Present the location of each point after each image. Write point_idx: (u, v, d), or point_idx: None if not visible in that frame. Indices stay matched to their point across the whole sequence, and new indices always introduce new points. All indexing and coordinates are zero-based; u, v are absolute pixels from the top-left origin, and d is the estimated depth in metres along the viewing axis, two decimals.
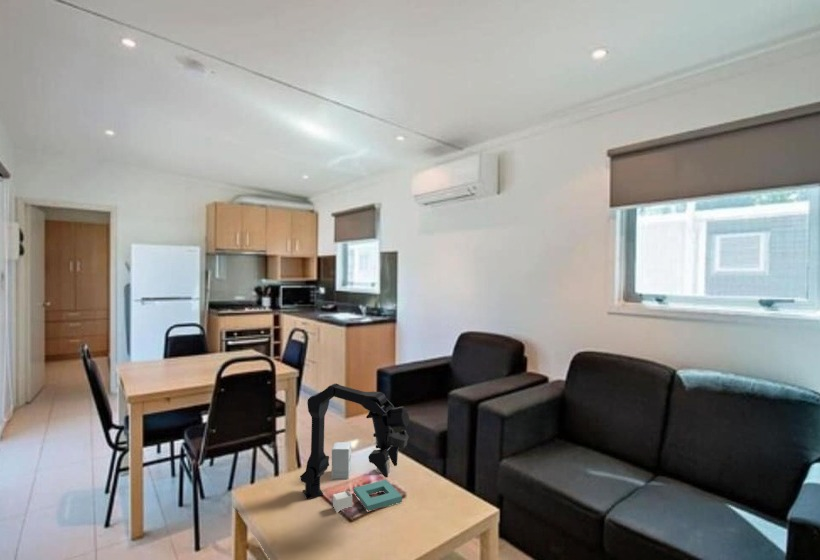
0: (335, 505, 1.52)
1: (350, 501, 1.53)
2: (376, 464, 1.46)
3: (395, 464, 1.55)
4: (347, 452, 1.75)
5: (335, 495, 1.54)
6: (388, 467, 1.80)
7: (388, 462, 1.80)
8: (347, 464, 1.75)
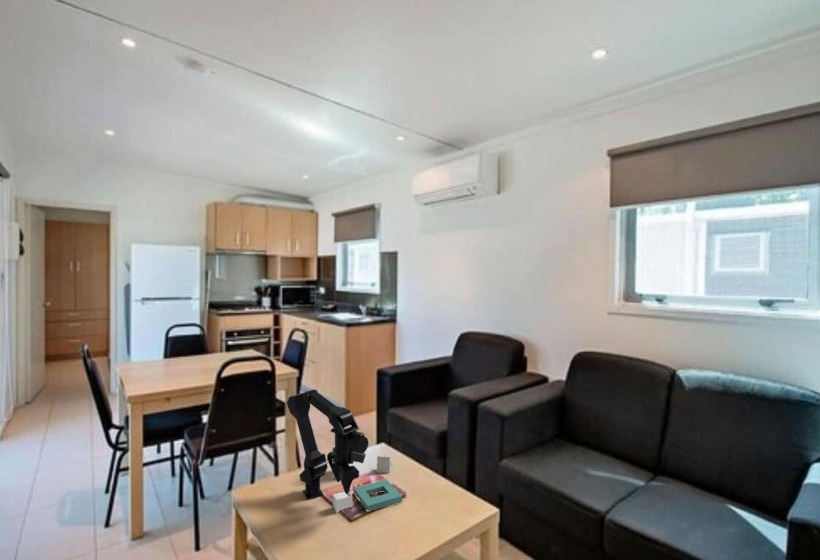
0: (335, 505, 1.52)
1: (350, 501, 1.53)
2: (343, 482, 1.47)
3: (338, 480, 1.58)
4: None
5: (335, 495, 1.54)
6: (388, 467, 1.80)
7: (388, 462, 1.80)
8: None
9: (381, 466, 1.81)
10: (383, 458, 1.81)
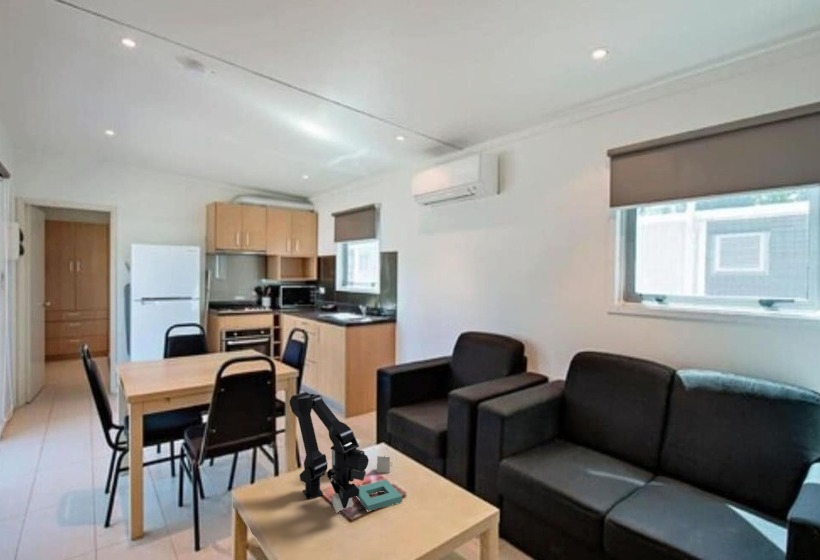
0: (335, 505, 1.52)
1: (350, 501, 1.53)
2: (341, 497, 1.49)
3: None
4: None
5: (335, 495, 1.54)
6: (388, 467, 1.80)
7: (388, 462, 1.80)
8: None
9: (381, 466, 1.81)
10: (383, 458, 1.81)
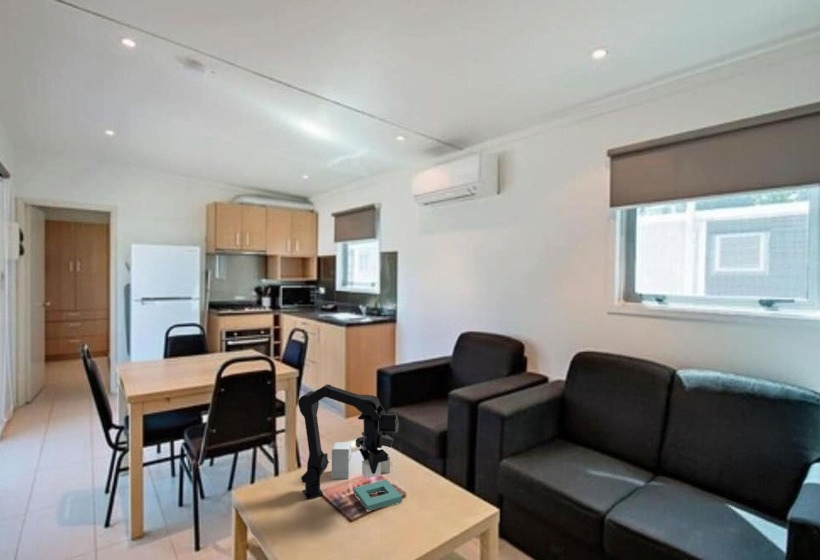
0: (364, 470, 1.57)
1: (379, 467, 1.58)
2: (370, 462, 1.54)
3: None
4: (347, 452, 1.75)
5: (364, 461, 1.59)
6: (388, 467, 1.81)
7: (388, 462, 1.80)
8: (347, 464, 1.75)
9: (381, 466, 1.81)
10: None
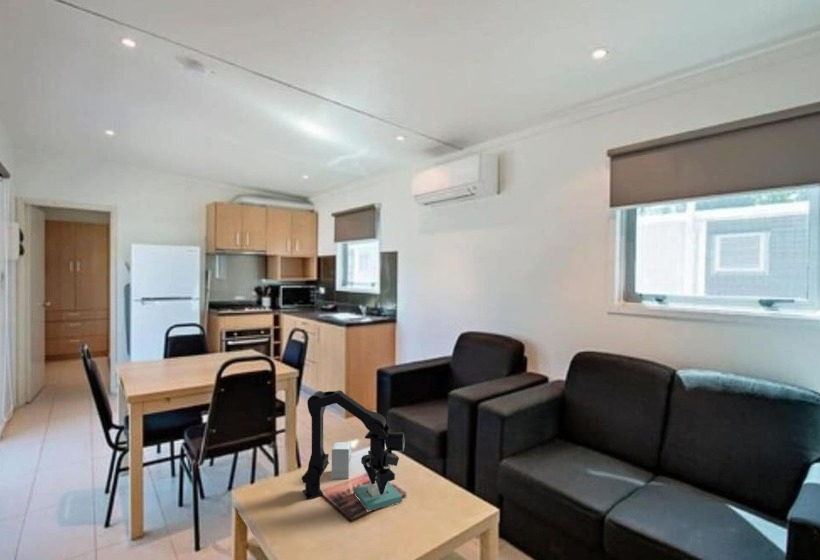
0: (370, 495, 1.59)
1: (384, 491, 1.60)
2: (379, 483, 1.55)
3: (373, 483, 1.64)
4: (347, 452, 1.75)
5: (370, 486, 1.60)
6: (388, 467, 1.81)
7: None
8: (347, 464, 1.75)
9: None
10: None
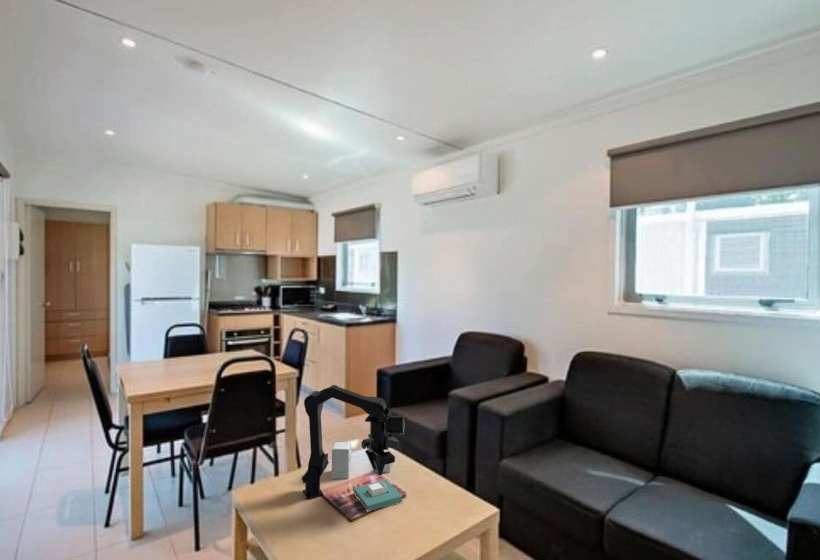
0: (370, 495, 1.59)
1: (384, 491, 1.60)
2: (377, 464, 1.56)
3: (375, 468, 1.62)
4: (347, 452, 1.75)
5: (370, 486, 1.60)
6: (389, 467, 1.81)
7: None
8: (347, 464, 1.75)
9: None
10: None
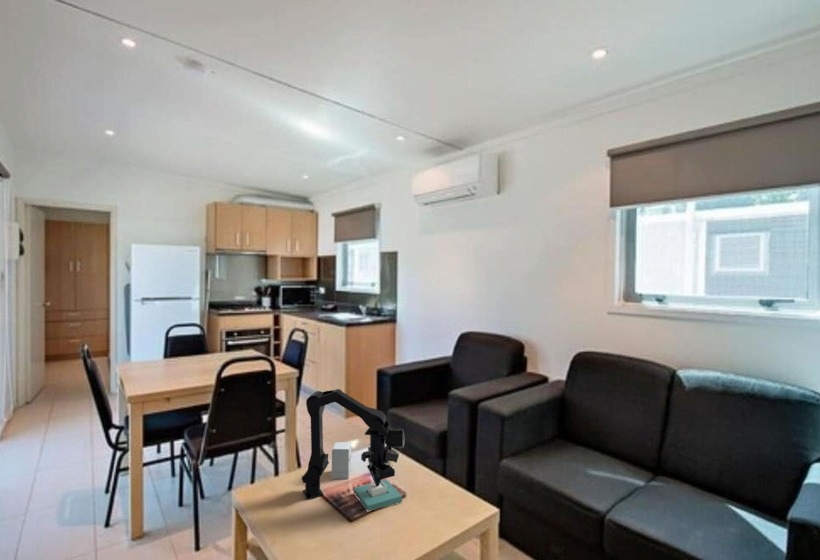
0: (370, 495, 1.59)
1: (384, 491, 1.60)
2: (375, 475, 1.58)
3: None
4: (347, 452, 1.75)
5: (370, 485, 1.60)
6: None
7: (389, 462, 1.81)
8: (347, 464, 1.75)
9: None
10: None
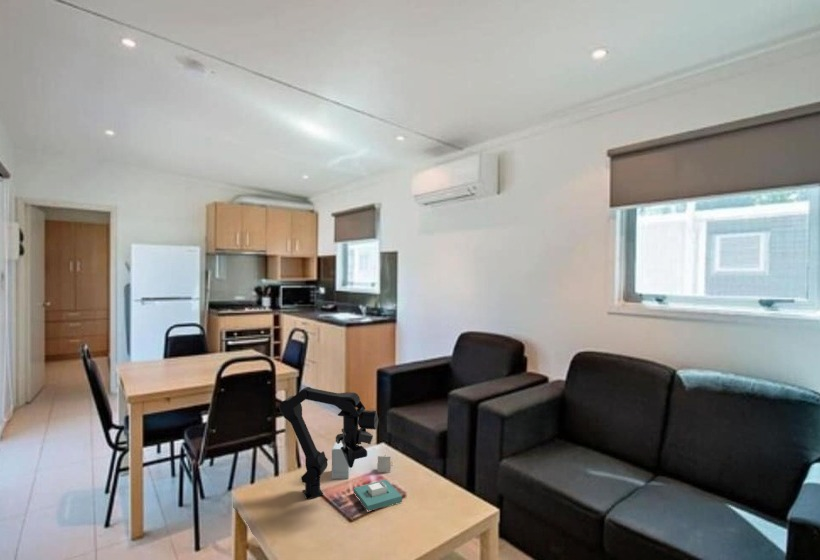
0: (370, 495, 1.59)
1: (384, 491, 1.60)
2: (348, 456, 1.58)
3: None
4: None
5: (370, 486, 1.60)
6: (389, 466, 1.81)
7: (389, 461, 1.81)
8: (347, 464, 1.75)
9: (382, 466, 1.81)
10: (384, 458, 1.81)
